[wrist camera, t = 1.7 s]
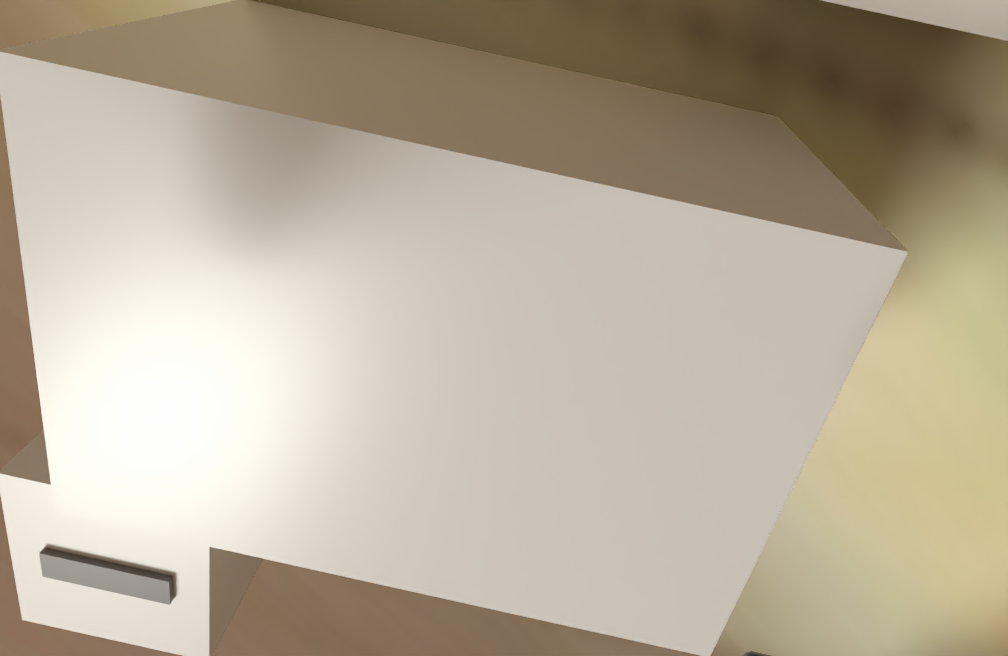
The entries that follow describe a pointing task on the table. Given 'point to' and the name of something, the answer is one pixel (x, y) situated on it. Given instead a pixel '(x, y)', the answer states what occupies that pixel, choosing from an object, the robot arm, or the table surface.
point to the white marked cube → (945, 13)
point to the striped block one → (114, 571)
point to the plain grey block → (429, 311)
